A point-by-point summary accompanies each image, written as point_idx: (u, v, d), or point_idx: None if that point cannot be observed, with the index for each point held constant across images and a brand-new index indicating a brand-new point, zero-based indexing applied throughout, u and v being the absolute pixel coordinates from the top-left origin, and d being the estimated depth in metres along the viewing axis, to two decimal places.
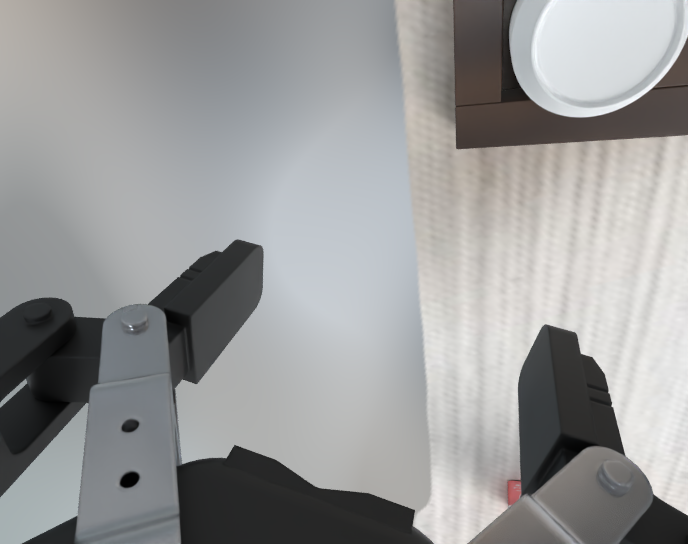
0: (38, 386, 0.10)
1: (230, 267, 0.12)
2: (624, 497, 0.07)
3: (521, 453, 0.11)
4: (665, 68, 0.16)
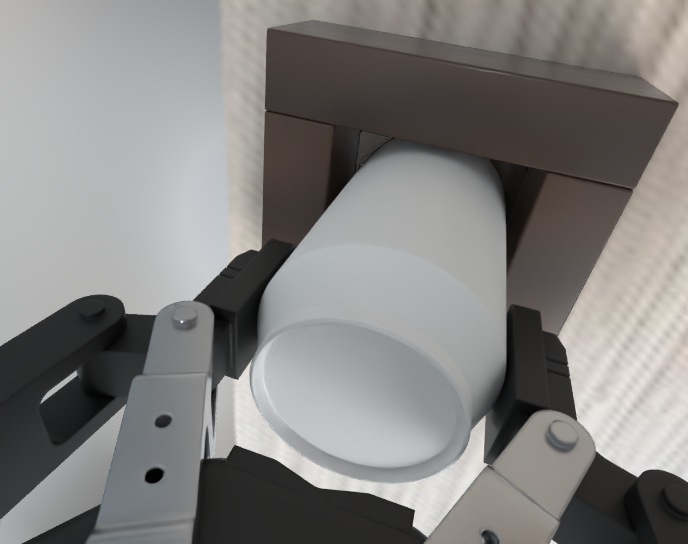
0: (86, 379, 0.10)
1: (269, 265, 0.12)
2: (568, 454, 0.08)
3: (486, 424, 0.11)
4: (433, 475, 0.10)
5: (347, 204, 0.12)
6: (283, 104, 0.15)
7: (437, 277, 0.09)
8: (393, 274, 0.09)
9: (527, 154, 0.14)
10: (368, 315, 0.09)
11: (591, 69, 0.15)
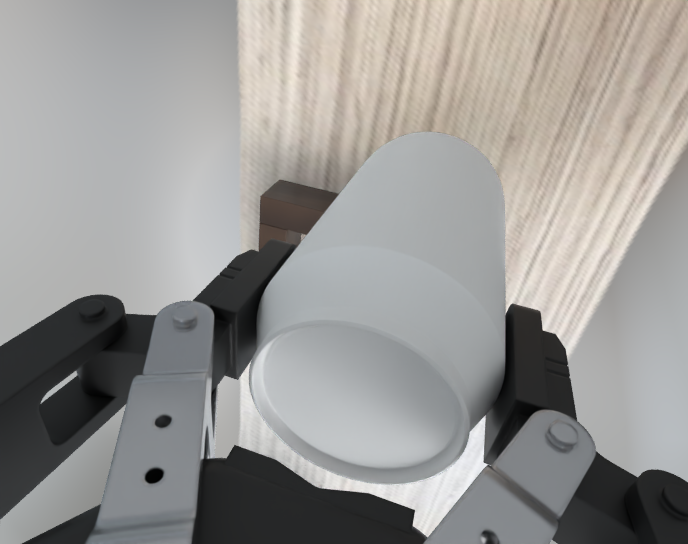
0: (86, 380, 0.10)
1: (269, 265, 0.12)
2: (568, 454, 0.08)
3: (486, 424, 0.11)
4: (432, 476, 0.10)
5: (346, 205, 0.12)
6: (267, 221, 0.38)
7: (436, 279, 0.09)
8: (392, 275, 0.09)
9: None
10: (367, 317, 0.09)
11: None
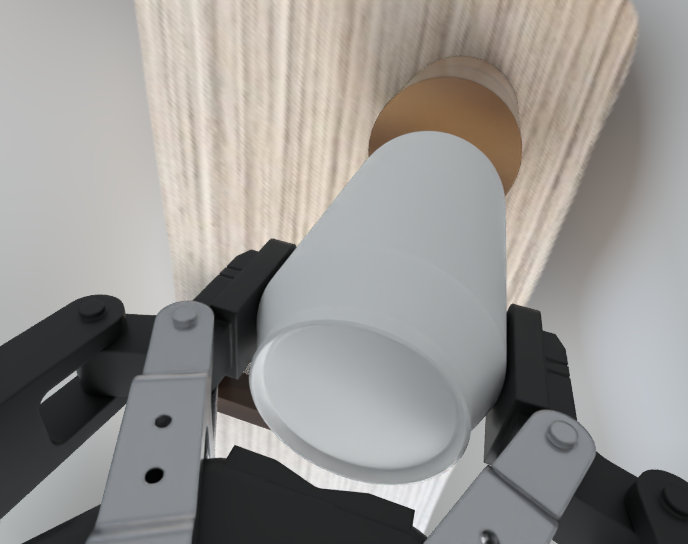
0: (86, 379, 0.10)
1: (269, 265, 0.12)
2: (568, 454, 0.08)
3: (486, 424, 0.11)
4: (433, 476, 0.10)
5: (347, 205, 0.12)
6: None
7: (437, 278, 0.09)
8: (393, 275, 0.09)
9: None
10: (368, 317, 0.09)
11: None
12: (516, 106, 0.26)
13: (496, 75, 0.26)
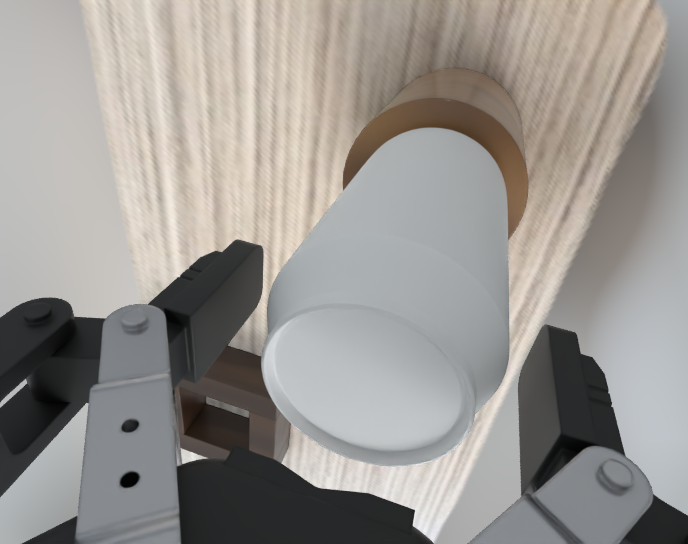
0: (38, 386, 0.10)
1: (230, 267, 0.12)
2: (624, 497, 0.07)
3: (521, 453, 0.11)
4: (439, 457, 0.10)
5: (354, 197, 0.12)
6: None
7: (443, 265, 0.10)
8: (400, 261, 0.09)
9: (241, 405, 0.39)
10: (378, 300, 0.09)
11: None
12: (520, 129, 0.22)
13: (496, 92, 0.22)
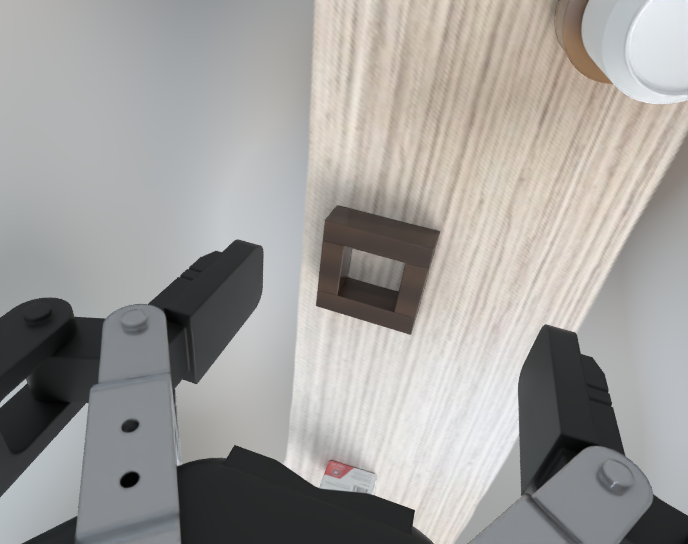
0: (38, 386, 0.10)
1: (230, 267, 0.12)
2: (624, 497, 0.07)
3: (521, 453, 0.11)
4: None
5: None
6: (328, 239, 0.49)
7: None
8: None
9: (399, 258, 0.47)
10: None
11: (424, 228, 0.49)
12: None
13: None
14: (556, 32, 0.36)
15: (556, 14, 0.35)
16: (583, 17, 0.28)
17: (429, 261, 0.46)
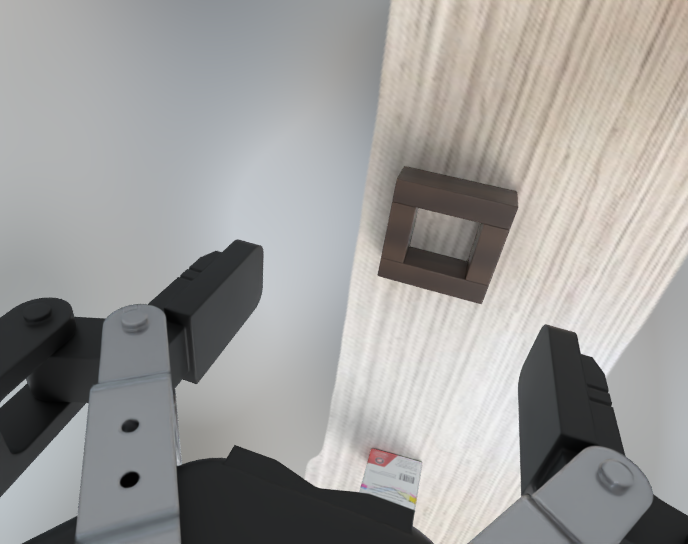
0: (38, 386, 0.10)
1: (230, 267, 0.12)
2: (624, 497, 0.07)
3: (521, 453, 0.11)
4: None
5: None
6: (399, 200, 0.46)
7: None
8: None
9: (477, 218, 0.44)
10: None
11: (500, 188, 0.46)
12: None
13: None
14: None
15: None
16: None
17: (511, 221, 0.43)
